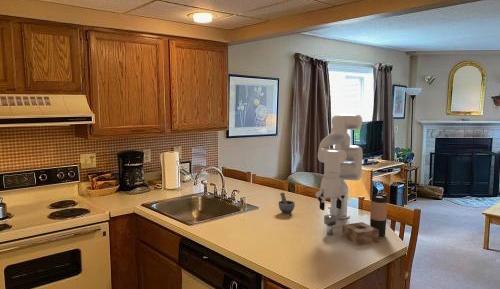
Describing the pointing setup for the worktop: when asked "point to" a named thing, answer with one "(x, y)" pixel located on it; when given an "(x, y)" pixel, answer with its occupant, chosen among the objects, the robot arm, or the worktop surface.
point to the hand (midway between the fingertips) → (330, 209)
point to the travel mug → (379, 213)
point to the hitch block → (360, 233)
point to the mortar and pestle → (286, 205)
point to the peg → (330, 223)
